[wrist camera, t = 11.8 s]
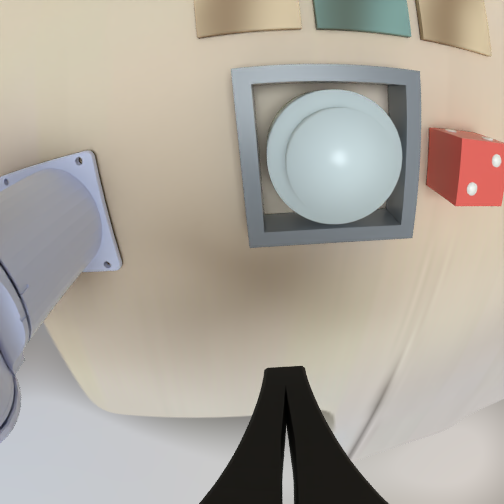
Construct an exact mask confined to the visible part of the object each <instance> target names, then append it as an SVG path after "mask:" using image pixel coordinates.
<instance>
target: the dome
mask: <svg viewBox="0 0 504 504" xmlns="http://www.w3.org/2000/svg"><path fill="white" fill-rule="evenodd" d="M267 165H268V172H269V175H270V179H271V181H272V184H273V186H274V188H275V190H276V192H277V193H278V195H279V196H280V198H281V199H282V200H283V201H284V203H286V204H287V205H288V206H289V207H290V208H291V209H292V210H293V211H295V212H296V213H298V214H299V215H301V216H303V217H305V218H307V219H309V220H312V221H315V222H319V223H325V224H344V223H349V222H354V221H356V220H359V219H362V218H364V217H366V216H368V215H370V214H371V213H372V212H374V211H375V210H377V209H378V208H379V207H380V206H381V205H382V204H383V203H384V202H385V201H386V200H387V199H388V197H389V196H390V195H391V193H392V192H393V190H394V188H395V186H396V184H397V181H398V179H399V176H400V172H401V167H402V147H401V142H400V138H399V135H398V132H397V130H396V128H395V125H394V124H393V122H392V120H391V119H390V117H389V116H388V115H387V114H386V112H385V111H384V110H383V109H382V108H381V107H380V106H378V105H377V104H376V103H375V102H373V101H372V100H370V99H368V98H367V97H365V96H363V95H360V94H358V93H355V92H351V91H346V90H337V89H333V90H316V91H311V92H307V93H304V94H302V95H300V96H298V97H296V98H294V99H292V100H291V101H290V102H288V103H287V104H286V105H285V106H284V107H283V108H282V109H281V110H280V111H279V112H278V114H277V115H276V117H275V118H274V120H273V122H272V124H271V127H270V129H269V133H268V136H267Z"/></svg>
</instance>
